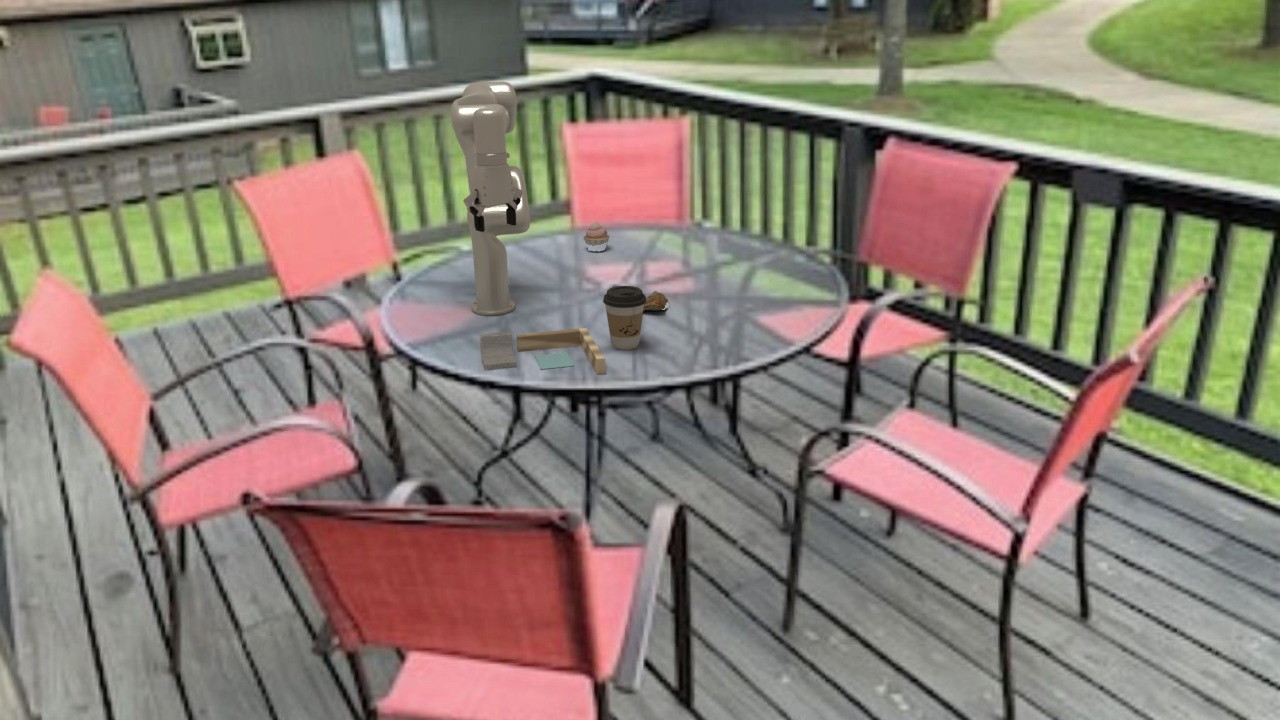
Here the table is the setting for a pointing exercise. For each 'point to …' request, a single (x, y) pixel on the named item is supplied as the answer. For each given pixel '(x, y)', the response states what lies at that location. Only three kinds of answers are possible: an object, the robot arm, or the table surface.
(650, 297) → the pie slice
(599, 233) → the cupcake
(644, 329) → the table surface
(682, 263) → the table surface
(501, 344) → the bracket
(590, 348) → the wooden l-shaped piece
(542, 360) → the teal square plate
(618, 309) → the coffee cup
